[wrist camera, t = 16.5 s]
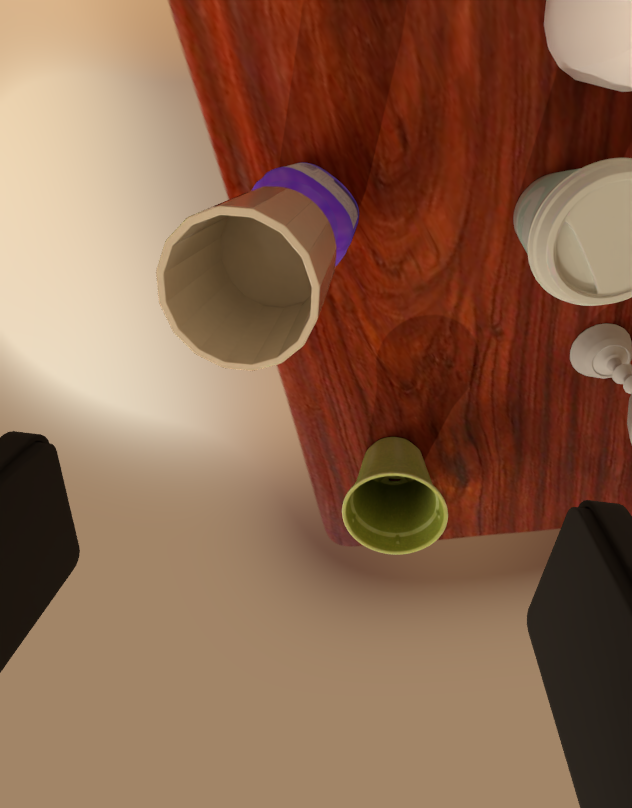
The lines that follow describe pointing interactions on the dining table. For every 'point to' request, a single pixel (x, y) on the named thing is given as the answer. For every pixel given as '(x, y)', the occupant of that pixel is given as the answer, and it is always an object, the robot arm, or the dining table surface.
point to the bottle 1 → (320, 198)
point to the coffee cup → (580, 232)
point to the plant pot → (394, 500)
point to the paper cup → (248, 277)
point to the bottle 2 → (592, 40)
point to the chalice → (605, 357)
